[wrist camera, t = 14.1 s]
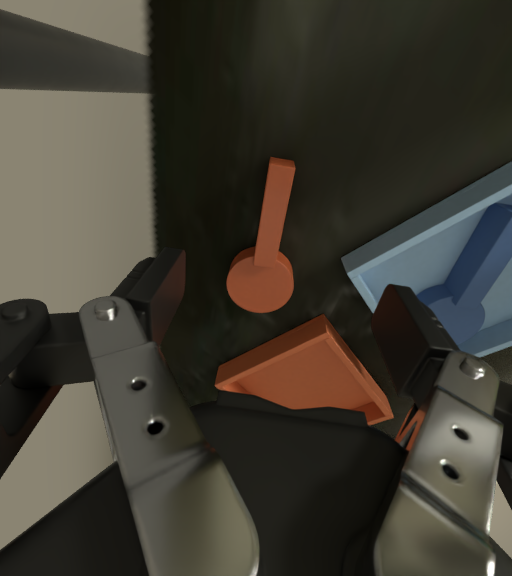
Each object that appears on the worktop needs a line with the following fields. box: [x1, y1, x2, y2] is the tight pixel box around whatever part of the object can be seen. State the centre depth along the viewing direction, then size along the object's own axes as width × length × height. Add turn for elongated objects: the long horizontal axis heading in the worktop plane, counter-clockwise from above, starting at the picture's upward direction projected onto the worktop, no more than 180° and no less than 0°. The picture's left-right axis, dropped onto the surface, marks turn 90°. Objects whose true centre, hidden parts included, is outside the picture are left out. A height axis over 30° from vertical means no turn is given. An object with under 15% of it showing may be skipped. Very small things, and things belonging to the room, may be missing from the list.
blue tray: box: [341, 161, 512, 358], centre depth 23 cm, size 13×12×2 cm
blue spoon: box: [416, 202, 512, 345], centre depth 22 cm, size 12×5×2 cm, turn 172°
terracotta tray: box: [215, 314, 394, 426], centre depth 30 cm, size 13×12×2 cm
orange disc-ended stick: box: [227, 157, 295, 313], centre depth 22 cm, size 12×5×2 cm, turn 172°
